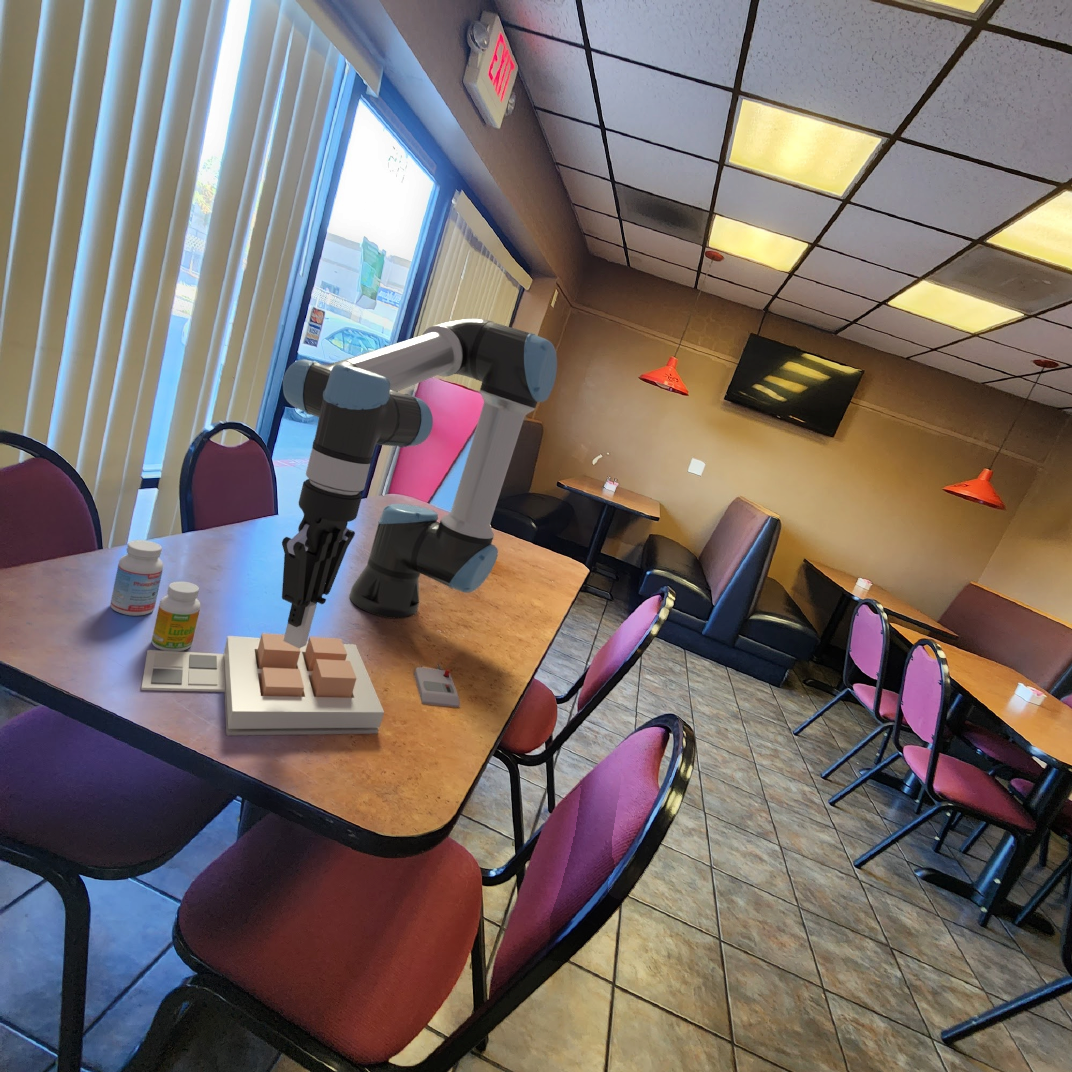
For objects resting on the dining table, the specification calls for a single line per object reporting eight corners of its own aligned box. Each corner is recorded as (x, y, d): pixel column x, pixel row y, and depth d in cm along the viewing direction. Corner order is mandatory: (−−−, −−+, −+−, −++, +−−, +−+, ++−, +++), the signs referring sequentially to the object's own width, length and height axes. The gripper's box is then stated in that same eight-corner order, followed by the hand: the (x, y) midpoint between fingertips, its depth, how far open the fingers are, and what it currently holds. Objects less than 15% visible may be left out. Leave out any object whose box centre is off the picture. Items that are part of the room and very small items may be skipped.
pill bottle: (132, 620, 93) (145, 555, 90) (100, 606, 93) (112, 541, 91) (163, 610, 98) (176, 548, 96) (132, 597, 99) (144, 535, 97)
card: (222, 656, 91) (223, 652, 91) (224, 692, 83) (225, 688, 83) (147, 652, 86) (148, 648, 86) (141, 690, 78) (141, 686, 78)
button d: (335, 657, 96) (341, 638, 95) (341, 673, 92) (347, 654, 91) (304, 655, 93) (309, 636, 93) (308, 671, 89) (314, 652, 89)
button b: (291, 654, 92) (296, 635, 92) (295, 671, 88) (300, 651, 87) (256, 652, 90) (261, 632, 89) (259, 669, 86) (264, 649, 85)
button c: (344, 680, 90) (349, 660, 90) (350, 698, 86) (356, 678, 86) (310, 678, 88) (316, 659, 87) (315, 697, 84) (321, 677, 83)
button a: (293, 688, 87) (299, 668, 86) (298, 708, 83) (304, 687, 82) (257, 688, 84) (262, 667, 84) (260, 708, 80) (265, 686, 79)
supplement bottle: (162, 655, 86) (175, 596, 85) (144, 638, 89) (156, 580, 87) (198, 648, 91) (211, 592, 89) (180, 633, 94) (192, 578, 92)
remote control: (422, 712, 96) (427, 696, 95) (409, 664, 110) (414, 650, 109) (460, 716, 99) (465, 701, 98) (443, 669, 112) (447, 655, 112)
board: (350, 662, 102) (355, 644, 101) (377, 733, 86) (384, 712, 85) (222, 656, 91) (227, 635, 91) (226, 735, 75) (232, 711, 74)
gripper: (339, 473, 84) (302, 619, 89) (276, 478, 71) (238, 647, 77) (384, 491, 82) (344, 639, 88) (328, 499, 70) (285, 670, 75)
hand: (294, 642), depth 82 cm, fingers closed
